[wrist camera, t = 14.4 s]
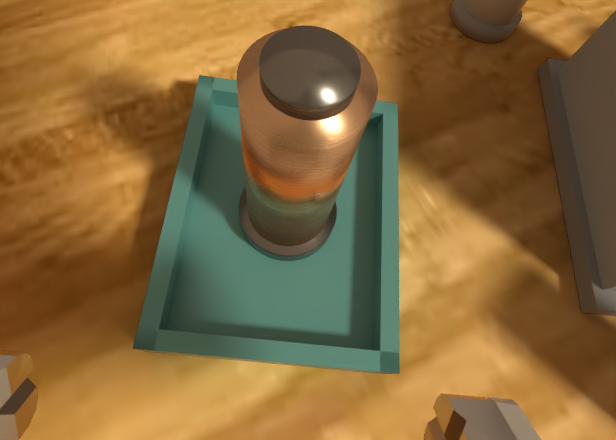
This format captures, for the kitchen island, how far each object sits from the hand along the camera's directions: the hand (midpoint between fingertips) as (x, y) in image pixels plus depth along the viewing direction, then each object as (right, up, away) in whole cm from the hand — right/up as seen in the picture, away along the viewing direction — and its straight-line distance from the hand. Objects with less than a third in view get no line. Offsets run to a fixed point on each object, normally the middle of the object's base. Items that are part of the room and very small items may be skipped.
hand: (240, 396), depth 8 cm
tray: (0, +3, +12) cm, 12 cm away
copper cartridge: (0, +4, +11) cm, 12 cm away
